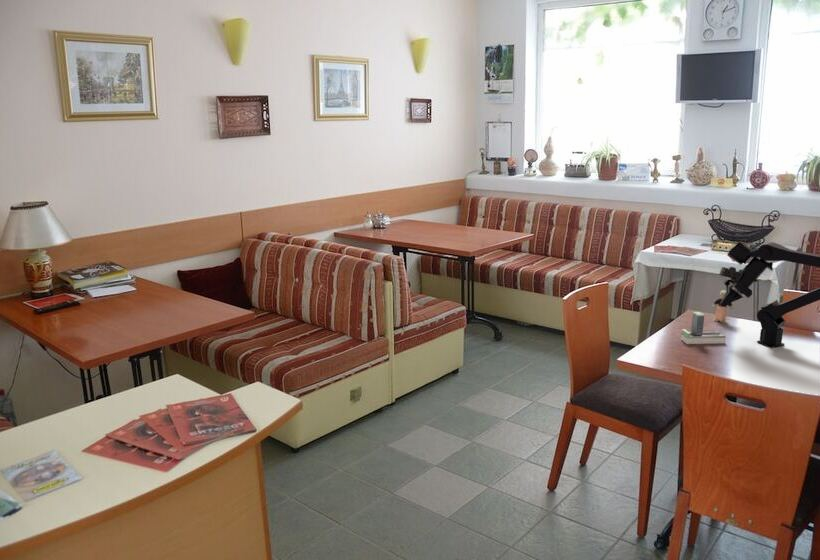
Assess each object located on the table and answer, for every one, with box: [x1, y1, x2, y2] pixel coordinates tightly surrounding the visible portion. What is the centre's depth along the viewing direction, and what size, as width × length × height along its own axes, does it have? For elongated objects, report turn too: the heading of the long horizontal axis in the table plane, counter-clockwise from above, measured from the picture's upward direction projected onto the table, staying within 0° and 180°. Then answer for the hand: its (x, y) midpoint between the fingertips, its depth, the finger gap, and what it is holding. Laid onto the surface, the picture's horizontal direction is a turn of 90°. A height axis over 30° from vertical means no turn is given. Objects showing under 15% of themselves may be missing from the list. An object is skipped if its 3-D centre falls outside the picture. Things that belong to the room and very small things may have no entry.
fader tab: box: [690, 311, 705, 336], centre depth 251 cm, size 3×4×8 cm
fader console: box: [680, 328, 726, 345], centre depth 252 cm, size 14×5×4 cm, turn 93°
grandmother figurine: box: [711, 289, 734, 323], centre depth 275 cm, size 8×4×13 cm, turn 68°
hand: (720, 305), depth 252 cm, fingers closed
